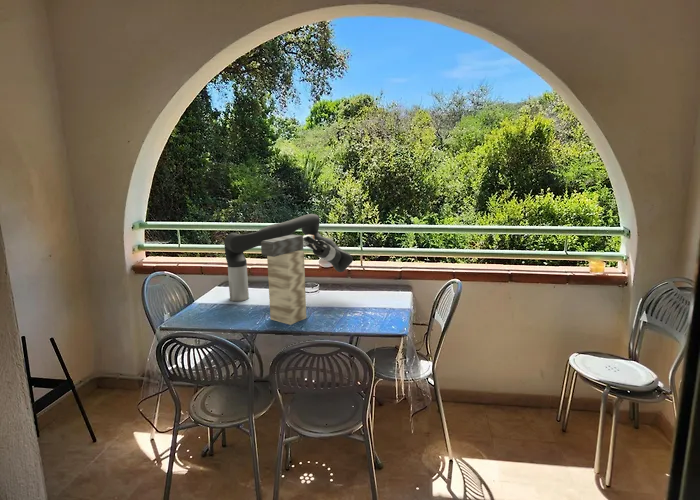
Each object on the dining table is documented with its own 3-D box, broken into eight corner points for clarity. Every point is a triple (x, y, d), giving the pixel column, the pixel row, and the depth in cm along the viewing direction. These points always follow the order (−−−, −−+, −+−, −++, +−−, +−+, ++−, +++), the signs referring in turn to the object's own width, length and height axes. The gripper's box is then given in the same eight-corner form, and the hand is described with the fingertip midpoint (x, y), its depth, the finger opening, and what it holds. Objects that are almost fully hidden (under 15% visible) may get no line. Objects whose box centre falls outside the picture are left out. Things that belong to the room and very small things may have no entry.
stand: (280, 329, 186) (276, 243, 179) (260, 323, 193) (255, 240, 186) (310, 316, 201) (308, 236, 194) (291, 311, 208) (287, 233, 201)
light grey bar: (276, 252, 185) (276, 243, 185) (270, 251, 187) (269, 242, 187) (314, 243, 204) (314, 235, 204) (308, 242, 206) (308, 234, 206)
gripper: (315, 242, 218) (293, 228, 205) (338, 244, 210) (317, 231, 197) (310, 256, 217) (288, 244, 203) (333, 260, 208) (312, 247, 195)
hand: (302, 237), depth 200 cm, fingers open, 4 cm apart
